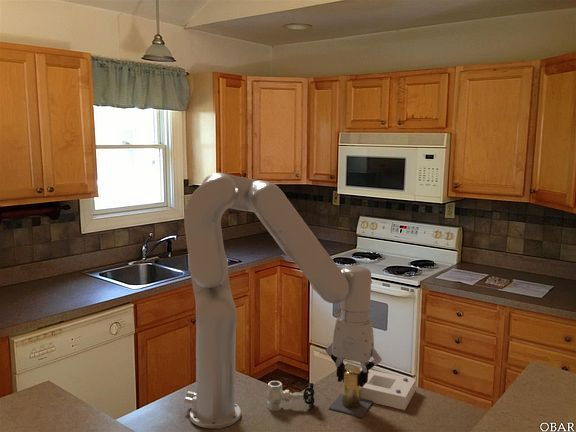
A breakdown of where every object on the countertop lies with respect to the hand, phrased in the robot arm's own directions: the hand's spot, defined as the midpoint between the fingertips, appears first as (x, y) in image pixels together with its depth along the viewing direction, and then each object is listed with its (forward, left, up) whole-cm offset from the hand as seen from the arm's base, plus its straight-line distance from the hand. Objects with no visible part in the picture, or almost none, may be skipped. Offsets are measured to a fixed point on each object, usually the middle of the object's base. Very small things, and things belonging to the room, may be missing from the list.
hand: (351, 381), depth 135 cm
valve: (-14, -9, -7) cm, 18 cm away
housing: (+5, +11, -7) cm, 13 cm away
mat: (0, 0, -7) cm, 7 cm away
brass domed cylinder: (0, 0, -6) cm, 6 cm away
